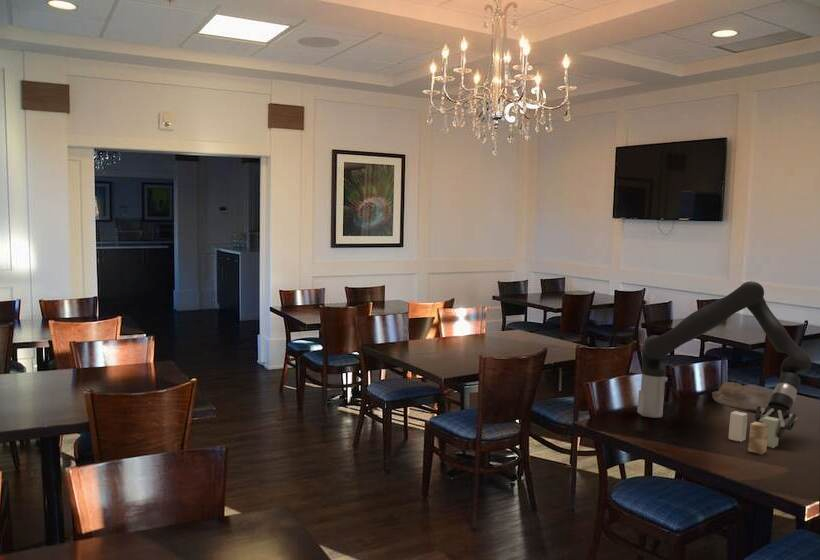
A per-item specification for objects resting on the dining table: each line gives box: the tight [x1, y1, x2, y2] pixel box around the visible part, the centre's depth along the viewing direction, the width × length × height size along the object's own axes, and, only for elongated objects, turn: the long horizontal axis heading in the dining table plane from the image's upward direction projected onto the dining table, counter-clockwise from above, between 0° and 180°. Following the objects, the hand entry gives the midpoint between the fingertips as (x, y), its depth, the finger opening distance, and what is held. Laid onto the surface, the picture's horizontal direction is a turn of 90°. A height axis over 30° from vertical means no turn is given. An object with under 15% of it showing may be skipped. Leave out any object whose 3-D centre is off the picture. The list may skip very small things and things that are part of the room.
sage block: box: [762, 416, 781, 449], centre depth 254 cm, size 4×4×10 cm
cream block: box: [728, 410, 749, 443], centre depth 259 cm, size 4×4×10 cm
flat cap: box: [711, 381, 771, 413], centre depth 311 cm, size 26×14×28 cm
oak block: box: [747, 421, 769, 455], centre depth 246 cm, size 4×4×10 cm
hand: (768, 434), depth 253 cm, fingers open, 6 cm apart
